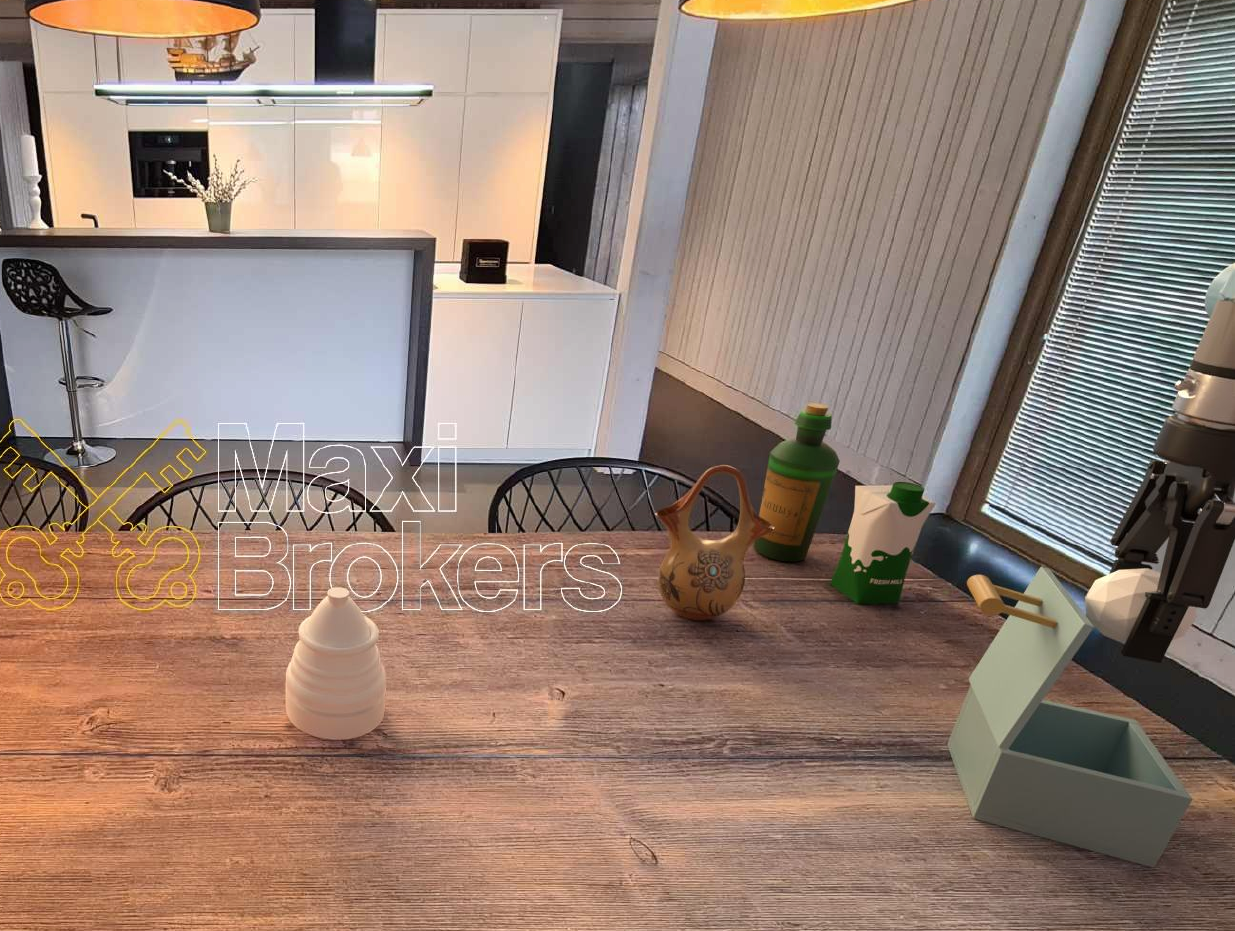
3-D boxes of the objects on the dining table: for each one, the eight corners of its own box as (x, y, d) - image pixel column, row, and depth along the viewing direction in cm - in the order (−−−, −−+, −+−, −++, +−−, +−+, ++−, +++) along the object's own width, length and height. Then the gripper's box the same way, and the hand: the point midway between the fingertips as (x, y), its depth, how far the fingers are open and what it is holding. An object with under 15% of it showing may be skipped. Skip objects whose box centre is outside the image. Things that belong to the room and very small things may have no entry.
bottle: (734, 542, 152) (769, 398, 141) (787, 540, 154) (825, 397, 143) (770, 567, 143) (810, 414, 132) (826, 565, 144) (870, 413, 133)
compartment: (1104, 783, 92) (1136, 719, 89) (1154, 868, 81) (1193, 799, 77) (946, 744, 98) (970, 683, 95) (972, 818, 87) (1001, 752, 84)
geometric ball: (1119, 655, 84) (1187, 601, 82) (1164, 669, 77) (1240, 609, 75) (1049, 605, 87) (1114, 550, 84) (1087, 613, 79) (1159, 554, 77)
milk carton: (856, 607, 130) (892, 492, 122) (820, 581, 138) (852, 471, 130) (908, 606, 130) (947, 491, 122) (869, 580, 138) (904, 471, 131)
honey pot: (386, 742, 98) (394, 613, 91) (281, 737, 99) (281, 609, 91) (383, 681, 110) (389, 562, 103) (289, 677, 110) (289, 559, 103)
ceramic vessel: (639, 620, 125) (669, 469, 116) (635, 594, 133) (662, 450, 124) (755, 637, 121) (796, 481, 111) (744, 609, 129) (781, 461, 119)
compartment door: (1049, 568, 88) (971, 546, 90) (1094, 626, 76) (1003, 599, 79) (976, 681, 95) (905, 658, 97) (1007, 750, 83) (926, 721, 86)
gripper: (1128, 391, 83) (1046, 586, 92) (1224, 446, 66) (1113, 679, 75) (1227, 401, 80) (1133, 601, 89) (1354, 461, 63) (1222, 701, 72)
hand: (1124, 636), depth 82 cm, fingers closed on geometric ball, 8 cm apart
